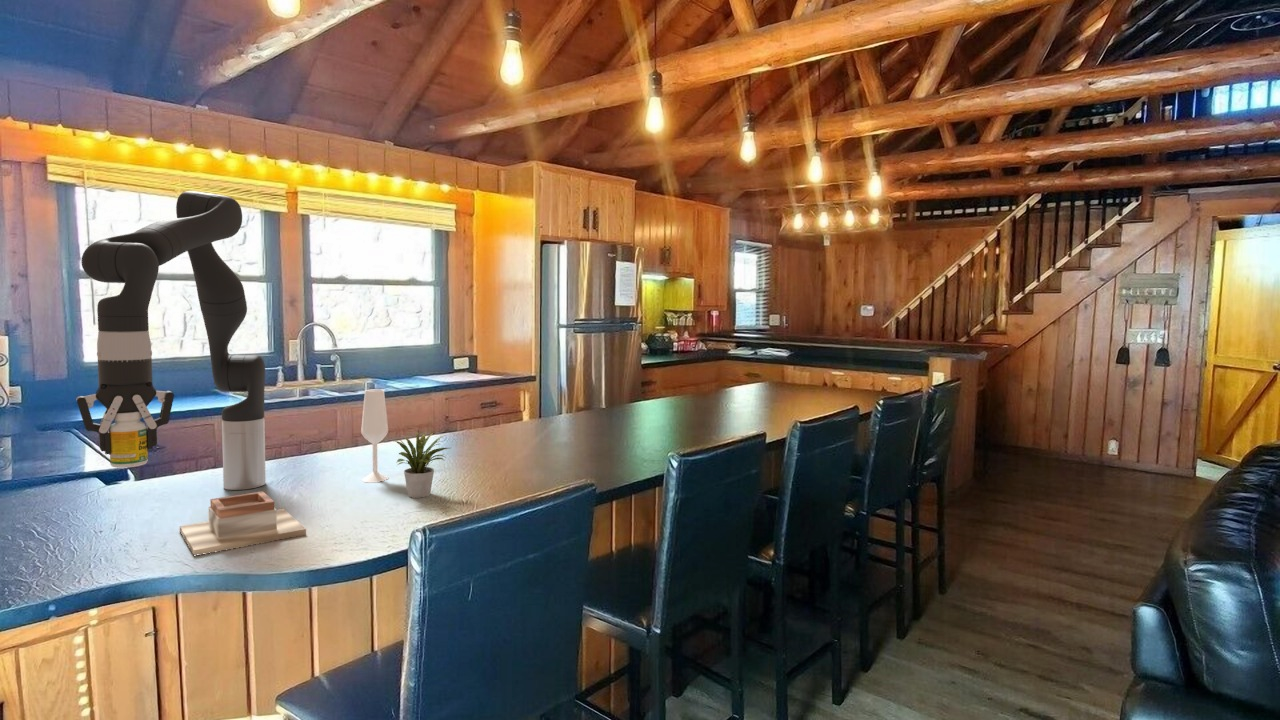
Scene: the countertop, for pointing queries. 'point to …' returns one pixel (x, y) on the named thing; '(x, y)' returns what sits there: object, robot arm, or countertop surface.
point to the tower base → (213, 544)
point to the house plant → (419, 466)
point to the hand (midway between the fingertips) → (128, 450)
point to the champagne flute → (374, 426)
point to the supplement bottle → (128, 441)
